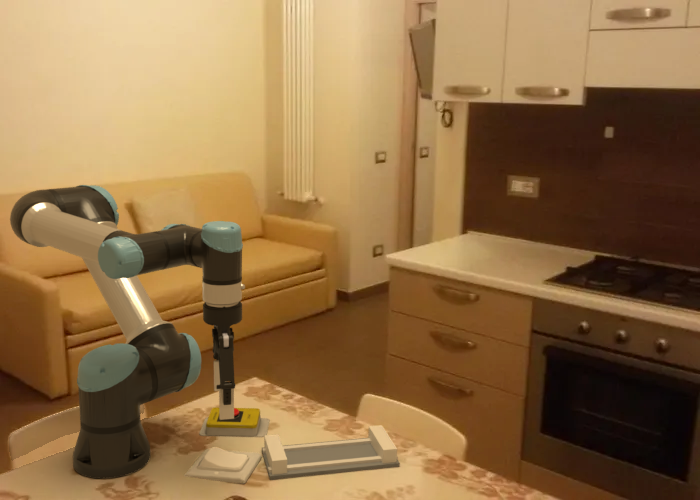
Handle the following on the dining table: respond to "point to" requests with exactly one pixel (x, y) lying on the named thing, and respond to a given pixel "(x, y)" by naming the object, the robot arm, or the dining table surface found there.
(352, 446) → the rail board
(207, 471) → the light switch
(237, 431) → the emergency button
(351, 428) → the dining table surface
